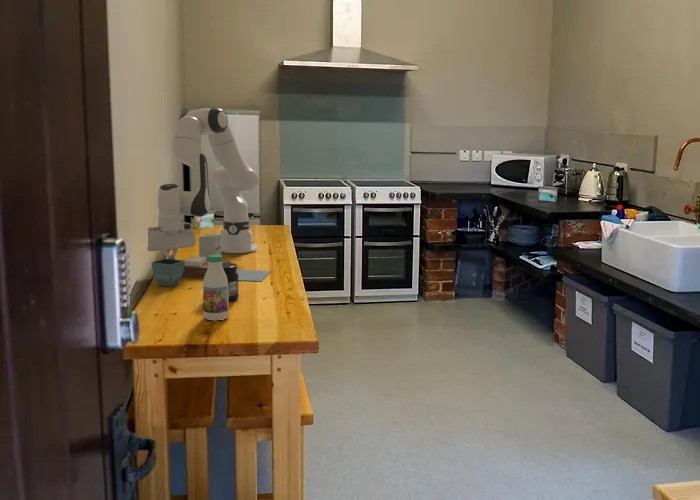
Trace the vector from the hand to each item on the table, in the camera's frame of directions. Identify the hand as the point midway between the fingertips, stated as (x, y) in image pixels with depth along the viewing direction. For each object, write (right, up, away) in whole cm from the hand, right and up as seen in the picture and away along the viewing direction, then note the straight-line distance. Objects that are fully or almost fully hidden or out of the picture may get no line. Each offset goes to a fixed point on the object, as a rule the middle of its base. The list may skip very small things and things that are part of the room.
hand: (170, 259), depth 273 cm
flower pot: (+4, -9, -19) cm, 22 cm away
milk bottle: (+30, -18, -60) cm, 69 cm away
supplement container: (+28, -13, -37) cm, 48 cm away
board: (+13, -6, 0) cm, 14 cm away
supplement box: (+13, -3, +17) cm, 21 cm away
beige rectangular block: (+10, -2, -1) cm, 10 cm away
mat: (+31, -6, -2) cm, 32 cm away
